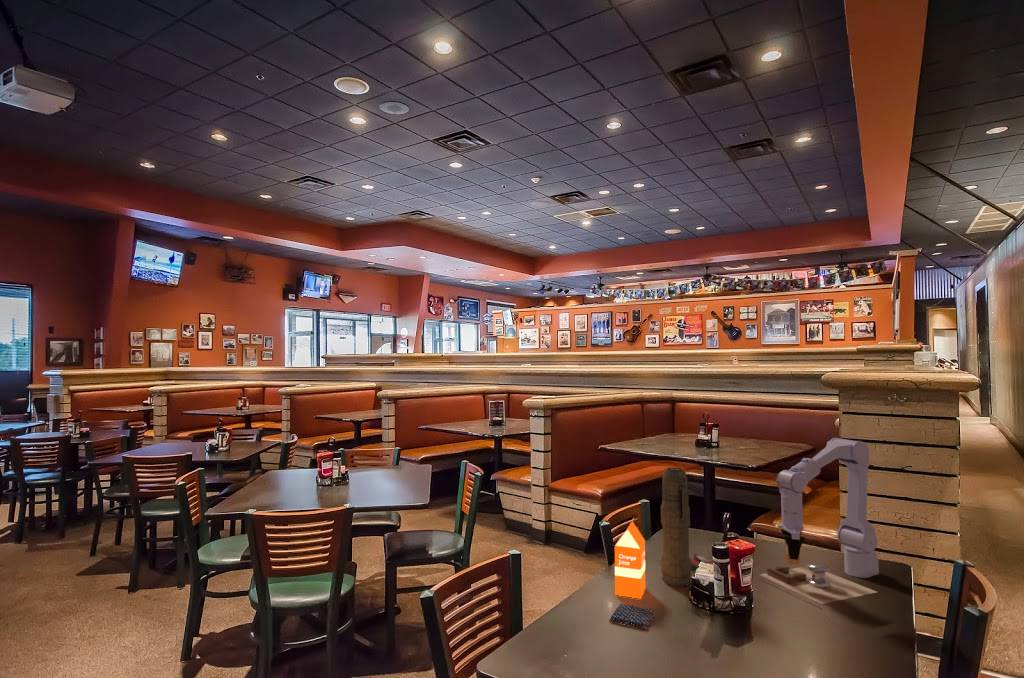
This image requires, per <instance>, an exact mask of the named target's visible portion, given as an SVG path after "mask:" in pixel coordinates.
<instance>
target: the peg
mask: <svg viewBox="0 0 1024 678" xmlns="http://www.w3.org/2000/svg"><path fill="white" fill-rule="evenodd" d="M785 547H786V549H785V550H786V562H787V563H788V564H791V565H800V564H801V554H800V553H801V552H800V553H799V558H798V560H795V559H790V557H789V552H788V547H787V543H785Z"/></svg>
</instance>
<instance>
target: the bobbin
mask: <svg viewBox="0 0 1024 678" xmlns="http://www.w3.org/2000/svg"><path fill="white" fill-rule="evenodd" d="M806 566H807V567H808V568H809V569H810V570H812V578H809V579H808V584H809V585H811V586H814V587H818V588H829V587H830V582H829V581H827V580H826V579H825V572H829V573H830V571H831V567H830V566H829V565H828V564H825V563H822V562H815V561H814V562H813V561H812V562H808V563H807V564H806Z"/></svg>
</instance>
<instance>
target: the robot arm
mask: <svg viewBox="0 0 1024 678" xmlns="http://www.w3.org/2000/svg"><path fill="white" fill-rule="evenodd" d="M869 459H870V447H869V446H868V445H867V444H866V443H865V442H864V441H861V440H851V439H844V438H839V437H833V438H831V439H830V440H828V441H827V442H826V446H825V447H824V448H823V449H822V450H820V451H819V452H818V453H816V455H814V456H813V457H812V458H810V457H807V458H806V457H803V458H802V459H801V461H799V462H798V463H796V464H795V465H793V466H791V467H790V469H783V470H782V471H780V472H779V473H778V474H777V477H776V478H775V481H776V483H775V484H776V485H777V487H778V490H779V491H778V492H779V493H780V498H781V499H780V502H781V503H780V507H781V512H780V513H781V523H777V528H779V529H780V532H781V533H782V536H783V539H784V543H785V544H786V543H787V547H788V552H789V557H790V559H795V560H798V558H799V553H801V548H802V545H803V543H805V539H806V538H805V537H804V536H802V535H801V534H803V533H802V532H803V531H804V528H805V527H804V525H803V523H804V521H803V519H804V518H803V492H804V491H805V489H806V488H807V485H808V484H809V482H811V480H813V479H815V478H816V477H817V476H818V475H820V473H821V469H822V468H823V467H825V466H826V465H828V464H830V463H832V462H833V461H835V460H839V461H840V462H842V463H843V464H844V465H845V466H846V467H847V469H848V471H847V472H848V473H847V502H846V504H847V505H846V507H847V508H846V517H844V518H842V520H840V521H839V528H838V530H837V533H836V534H837V540H838V541H839V543H840V544H841V547H842V548H844V549H843V554H844V555H843V557H844V559H843V560H844V573H845V574H847V575H849V576H852V577H856V578H860V579H861V578H863V579H866V578H871V577H873V576H878V575H879V574H880V573H879V572H880V571H879V570H880V568H879V567H880V566H879V565H880V564H879V556H878V554H877V553H876V551H875V550H876V548H877V546H878V538H877V536H876V528H875V526H873V525H872V523H870V522H869V520H868V518H867V517H868V516H867V514H868V485H869V484H868V479H869V478H868V477H869V465H870V464H869V463H870V460H869Z"/></svg>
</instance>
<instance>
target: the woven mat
mask: <svg viewBox="0 0 1024 678" xmlns="http://www.w3.org/2000/svg"><path fill="white" fill-rule="evenodd" d="M655 617H656V615H655V610H653V609H652V610H651V608H649V609H648V608H645V607H640V606H635V605H629V604H628V603H625V604H623V602H622V603H620V604H618V606H617V607H616V608H615V610H614V611H613V612H612V614H611V615H610V619H608V621H609V622H610V621H613V622H614V623H613V624H616V623H618V622H619V621H620V622H619V623H621V622H622V624H625V625H631V626H634V627H635V626H636V625H637V627H638V628H637V629H639V628H641V629H640V630H643V629H644V631H645V630H646V631H647V630H648V628H649V626H650V625H651V623H653V621H654V618H655ZM613 619H614V620H613ZM615 622H616V623H615ZM631 623H632V624H631ZM633 624H634V625H633ZM625 625H624V626H625ZM634 627H633V628H634Z"/></svg>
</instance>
